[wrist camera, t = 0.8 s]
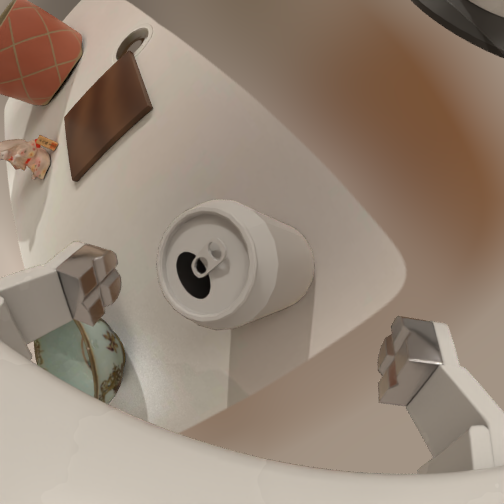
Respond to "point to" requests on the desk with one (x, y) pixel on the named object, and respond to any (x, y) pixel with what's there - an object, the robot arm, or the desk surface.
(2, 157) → the figurine
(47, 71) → the planter
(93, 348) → the bowl
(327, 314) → the desk surface
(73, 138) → the board
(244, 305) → the can
